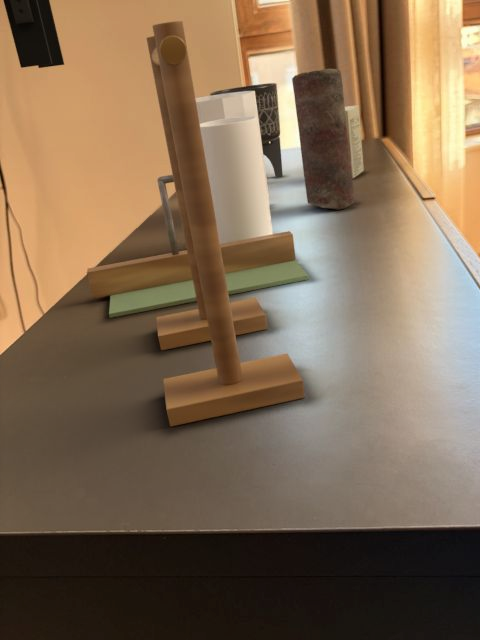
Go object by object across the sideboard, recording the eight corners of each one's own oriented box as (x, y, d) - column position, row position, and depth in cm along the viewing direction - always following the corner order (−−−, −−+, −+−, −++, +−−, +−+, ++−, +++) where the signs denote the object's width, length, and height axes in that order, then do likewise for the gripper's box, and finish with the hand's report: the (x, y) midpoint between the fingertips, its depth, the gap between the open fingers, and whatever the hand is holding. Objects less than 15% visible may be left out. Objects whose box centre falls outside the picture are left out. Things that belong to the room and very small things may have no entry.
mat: (112, 280, 81) (111, 276, 81) (281, 248, 83) (281, 244, 83) (109, 318, 68) (108, 313, 68) (308, 279, 71) (308, 275, 70)
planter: (273, 171, 137) (262, 83, 130) (297, 178, 126) (286, 82, 119) (216, 183, 134) (202, 93, 127) (236, 191, 123) (221, 93, 115)
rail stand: (159, 331, 63) (95, 46, 52) (258, 311, 64) (215, 29, 53) (170, 427, 46) (79, 32, 35) (305, 397, 47) (257, 7, 36)
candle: (302, 214, 99) (286, 74, 91) (311, 202, 105) (297, 71, 97) (351, 210, 97) (339, 67, 88) (358, 199, 103) (347, 64, 95)
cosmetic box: (343, 172, 126) (338, 106, 120) (364, 171, 123) (360, 104, 118) (331, 180, 121) (325, 111, 115) (352, 179, 118) (347, 109, 113)
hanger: (94, 294, 75) (67, 191, 70) (292, 256, 78) (280, 155, 73) (93, 298, 73) (66, 194, 68) (295, 260, 76) (283, 156, 71)
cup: (202, 250, 88) (180, 128, 81) (238, 233, 94) (220, 118, 87) (250, 253, 83) (231, 124, 76) (285, 235, 89) (269, 114, 82)
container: (204, 203, 117) (185, 98, 109) (279, 197, 112) (266, 87, 105) (173, 225, 104) (150, 108, 97) (257, 219, 100) (239, 96, 92)
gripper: (-2, -277, 44) (74, 59, 53) (39, -160, 67) (88, 62, 75) (-116, -269, 43) (-19, 71, 52) (-35, -154, 66) (23, 71, 74)
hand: (45, 66), depth 64 cm, fingers open, 13 cm apart
